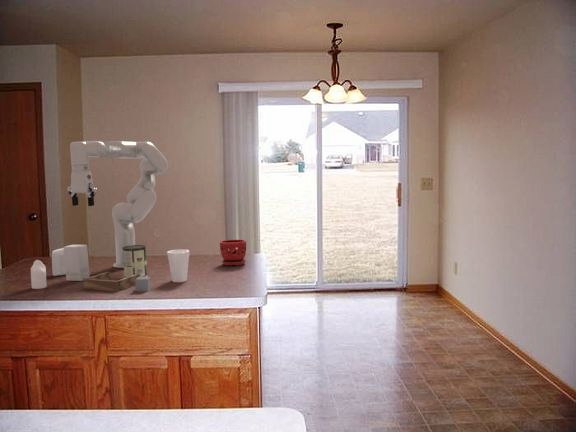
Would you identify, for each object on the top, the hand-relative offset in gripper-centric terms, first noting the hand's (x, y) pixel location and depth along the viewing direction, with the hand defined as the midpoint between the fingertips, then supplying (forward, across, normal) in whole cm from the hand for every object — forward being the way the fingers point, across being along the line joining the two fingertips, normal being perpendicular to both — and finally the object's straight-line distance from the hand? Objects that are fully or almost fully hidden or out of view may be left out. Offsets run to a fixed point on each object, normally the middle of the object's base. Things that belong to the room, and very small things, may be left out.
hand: (83, 205), depth 269 cm
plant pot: (+34, -53, -44) cm, 77 cm away
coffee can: (+33, -26, -2) cm, 42 cm away
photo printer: (+32, +10, +5) cm, 34 cm away
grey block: (+32, -46, +16) cm, 58 cm away
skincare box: (+32, -5, +12) cm, 35 cm away
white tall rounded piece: (+32, -1, +29) cm, 43 cm away
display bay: (+32, -28, +15) cm, 45 cm away
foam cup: (+33, -49, -4) cm, 59 cm away
